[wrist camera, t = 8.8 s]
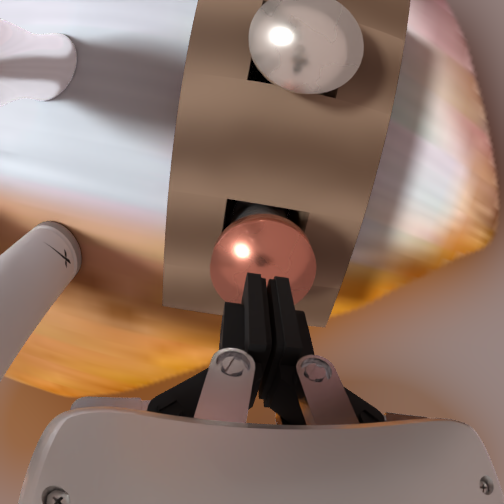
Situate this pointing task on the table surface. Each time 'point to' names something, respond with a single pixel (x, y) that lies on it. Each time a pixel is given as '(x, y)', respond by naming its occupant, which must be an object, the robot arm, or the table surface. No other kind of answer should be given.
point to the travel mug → (33, 283)
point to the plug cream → (305, 44)
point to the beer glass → (34, 64)
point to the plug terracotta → (261, 252)
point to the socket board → (275, 149)
